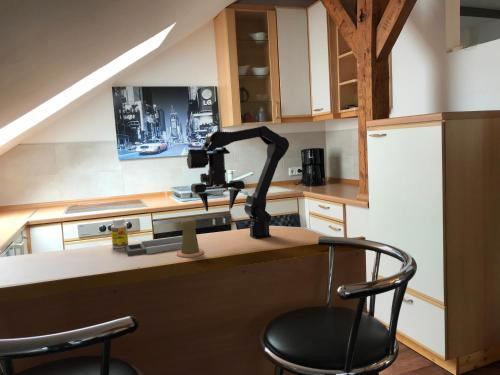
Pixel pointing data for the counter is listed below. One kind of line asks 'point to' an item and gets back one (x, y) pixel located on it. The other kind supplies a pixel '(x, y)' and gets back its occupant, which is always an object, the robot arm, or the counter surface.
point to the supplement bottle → (119, 233)
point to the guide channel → (163, 247)
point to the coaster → (190, 254)
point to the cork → (189, 237)
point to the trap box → (135, 249)
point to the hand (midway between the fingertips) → (219, 209)
